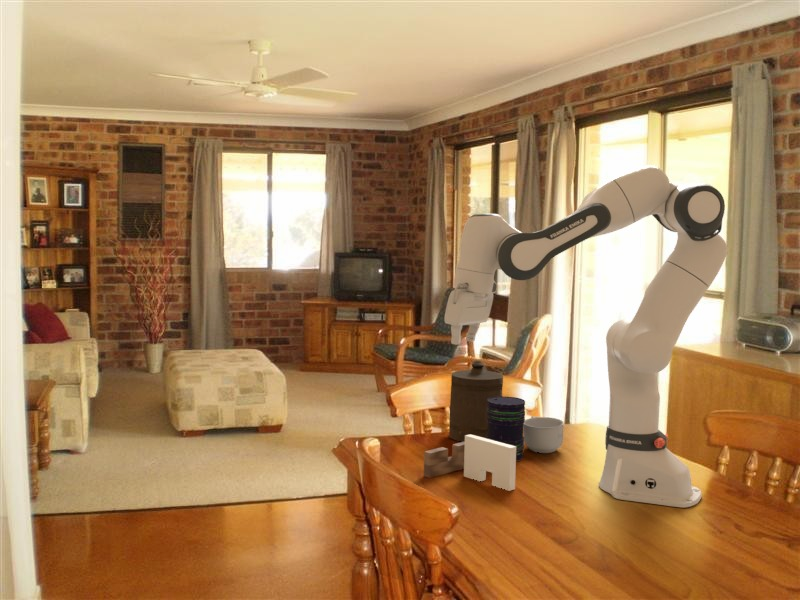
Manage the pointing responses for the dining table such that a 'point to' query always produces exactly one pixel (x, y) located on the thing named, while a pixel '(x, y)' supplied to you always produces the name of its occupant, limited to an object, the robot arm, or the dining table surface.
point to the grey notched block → (443, 460)
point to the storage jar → (506, 422)
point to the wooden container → (472, 400)
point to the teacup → (543, 434)
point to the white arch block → (490, 461)
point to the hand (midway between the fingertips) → (462, 342)
